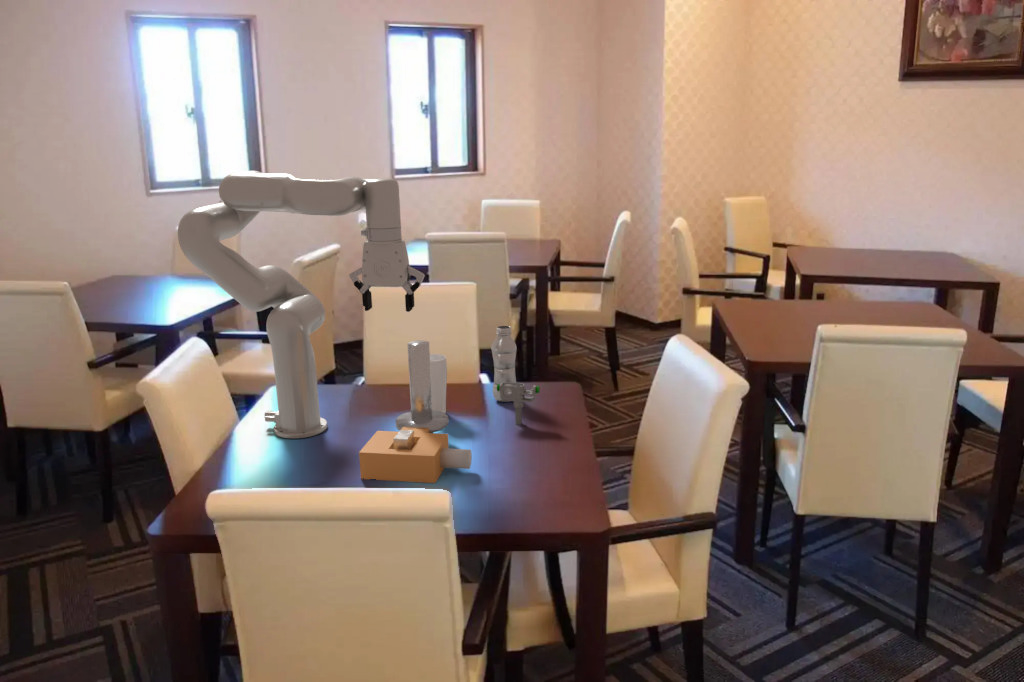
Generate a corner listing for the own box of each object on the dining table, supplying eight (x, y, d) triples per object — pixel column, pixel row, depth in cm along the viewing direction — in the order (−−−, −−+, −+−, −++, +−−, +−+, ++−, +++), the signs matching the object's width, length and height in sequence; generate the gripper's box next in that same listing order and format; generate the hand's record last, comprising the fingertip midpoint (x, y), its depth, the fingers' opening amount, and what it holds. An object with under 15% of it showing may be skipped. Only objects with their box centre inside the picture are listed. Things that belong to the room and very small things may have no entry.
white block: (395, 473, 170) (393, 438, 168) (402, 464, 175) (400, 429, 173) (409, 474, 170) (407, 439, 167) (415, 464, 174) (413, 430, 172)
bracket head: (360, 478, 168) (358, 452, 166) (383, 450, 182) (381, 425, 181) (464, 484, 164) (463, 457, 163) (478, 455, 179) (477, 429, 177)
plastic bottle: (518, 404, 210) (516, 330, 204) (492, 404, 210) (490, 330, 205) (518, 396, 216) (517, 324, 211) (493, 396, 216) (491, 324, 211)
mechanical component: (538, 426, 194) (538, 387, 192) (497, 424, 196) (496, 385, 194) (540, 422, 197) (540, 383, 195) (499, 420, 199) (498, 381, 197)
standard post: (390, 452, 181) (384, 350, 174) (405, 432, 192) (400, 335, 186) (442, 455, 179) (437, 351, 173) (454, 434, 190) (450, 337, 184)
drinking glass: (427, 420, 200) (425, 362, 196) (417, 412, 205) (415, 356, 201) (452, 415, 203) (450, 358, 199) (442, 407, 208) (440, 352, 204)
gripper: (341, 237, 177) (346, 313, 181) (417, 237, 174) (421, 314, 179) (353, 232, 184) (358, 305, 188) (426, 232, 181) (429, 307, 186)
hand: (388, 309), depth 184 cm, fingers open, 9 cm apart
